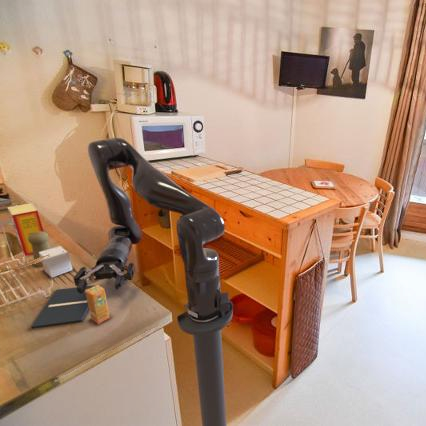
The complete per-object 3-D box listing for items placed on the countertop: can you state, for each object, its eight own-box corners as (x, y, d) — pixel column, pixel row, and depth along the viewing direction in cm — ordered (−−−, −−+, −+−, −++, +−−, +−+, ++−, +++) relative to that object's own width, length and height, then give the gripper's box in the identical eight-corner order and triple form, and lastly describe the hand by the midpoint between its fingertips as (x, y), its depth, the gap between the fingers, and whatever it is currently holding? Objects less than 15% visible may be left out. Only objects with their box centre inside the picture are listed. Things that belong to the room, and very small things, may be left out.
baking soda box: (20, 246, 117) (6, 206, 111) (42, 240, 122) (31, 201, 115) (25, 255, 111) (11, 214, 105) (48, 249, 116) (37, 209, 110)
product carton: (65, 263, 109) (60, 245, 106) (73, 270, 106) (68, 251, 103) (43, 271, 104) (37, 251, 101) (50, 278, 101) (44, 258, 98)
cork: (30, 267, 106) (20, 237, 102) (40, 257, 111) (31, 229, 107) (51, 265, 107) (43, 237, 103) (60, 256, 113) (52, 228, 108)
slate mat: (99, 286, 99) (98, 284, 99) (81, 321, 86) (81, 319, 85) (56, 291, 96) (56, 289, 96) (31, 328, 82) (30, 326, 82)
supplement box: (98, 325, 85) (90, 294, 81) (91, 319, 86) (83, 289, 82) (111, 318, 88) (104, 288, 84) (104, 313, 89) (97, 283, 85)
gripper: (84, 250, 97) (64, 280, 83) (137, 246, 101) (126, 274, 87) (89, 270, 100) (70, 303, 86) (140, 266, 104) (130, 296, 90)
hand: (98, 288), depth 86 cm, fingers open, 8 cm apart
